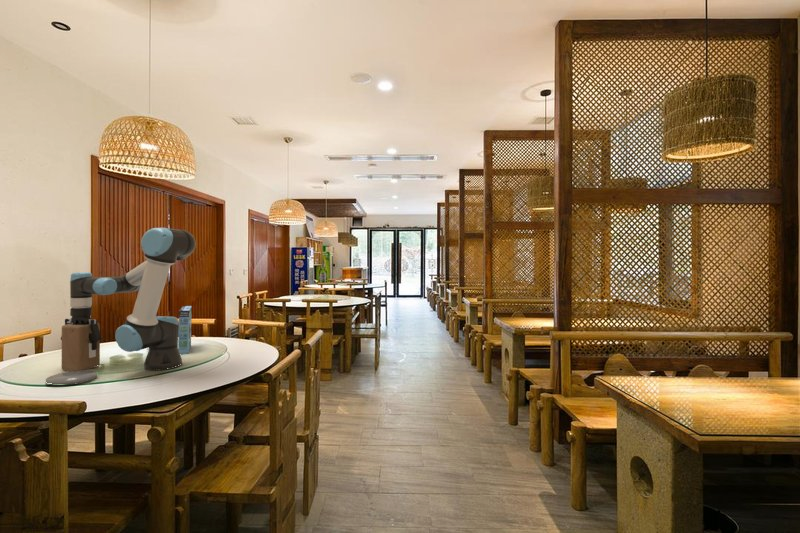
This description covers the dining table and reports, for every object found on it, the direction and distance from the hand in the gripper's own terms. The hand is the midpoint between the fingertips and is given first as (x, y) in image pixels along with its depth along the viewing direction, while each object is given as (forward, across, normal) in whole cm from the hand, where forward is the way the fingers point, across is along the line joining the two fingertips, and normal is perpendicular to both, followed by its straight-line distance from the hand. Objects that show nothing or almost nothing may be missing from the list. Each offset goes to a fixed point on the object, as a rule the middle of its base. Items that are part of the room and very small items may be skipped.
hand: (81, 356), depth 178 cm
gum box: (+6, -22, -40) cm, 46 cm away
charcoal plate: (+5, -12, +16) cm, 21 cm away
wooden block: (+6, 0, 0) cm, 6 cm away
